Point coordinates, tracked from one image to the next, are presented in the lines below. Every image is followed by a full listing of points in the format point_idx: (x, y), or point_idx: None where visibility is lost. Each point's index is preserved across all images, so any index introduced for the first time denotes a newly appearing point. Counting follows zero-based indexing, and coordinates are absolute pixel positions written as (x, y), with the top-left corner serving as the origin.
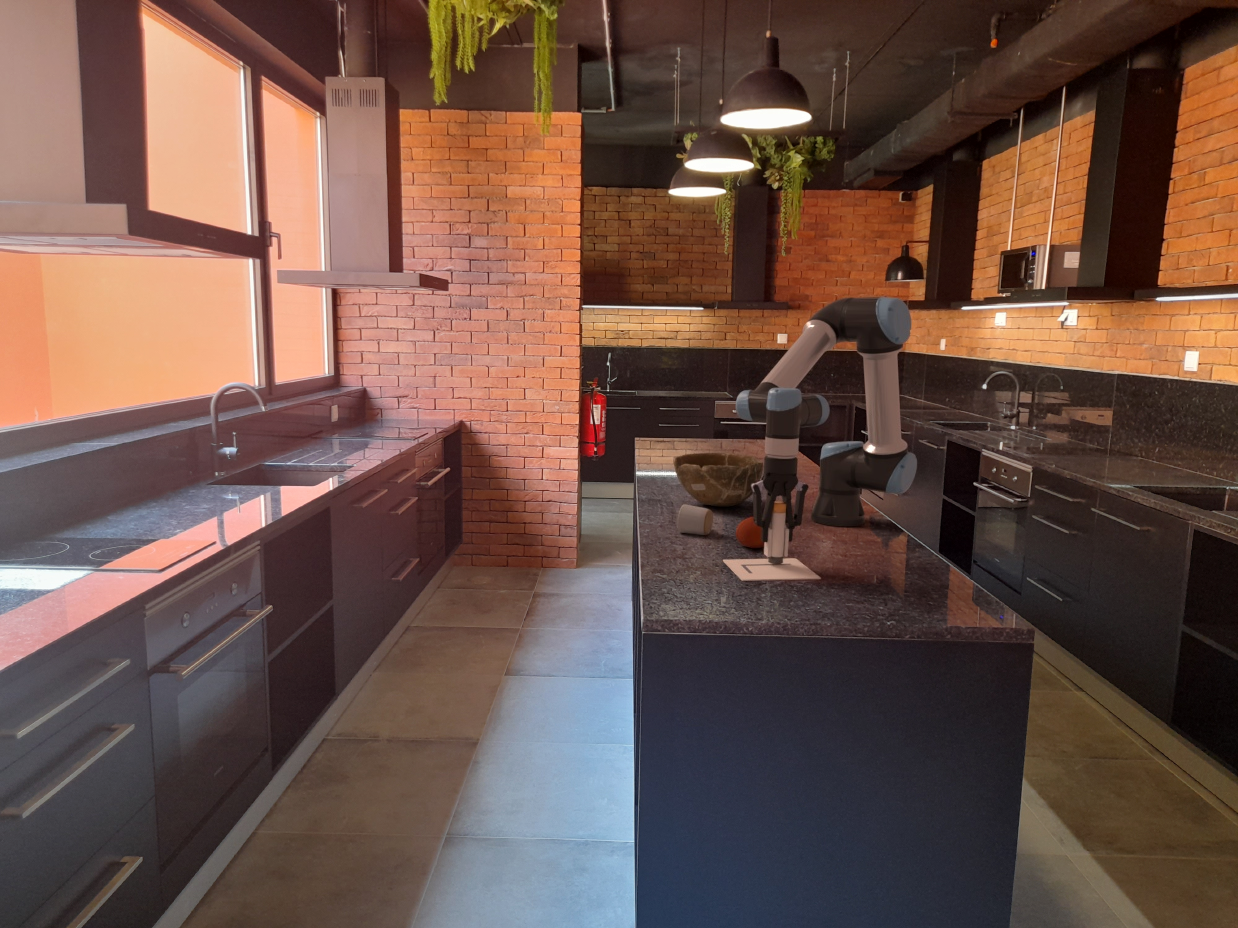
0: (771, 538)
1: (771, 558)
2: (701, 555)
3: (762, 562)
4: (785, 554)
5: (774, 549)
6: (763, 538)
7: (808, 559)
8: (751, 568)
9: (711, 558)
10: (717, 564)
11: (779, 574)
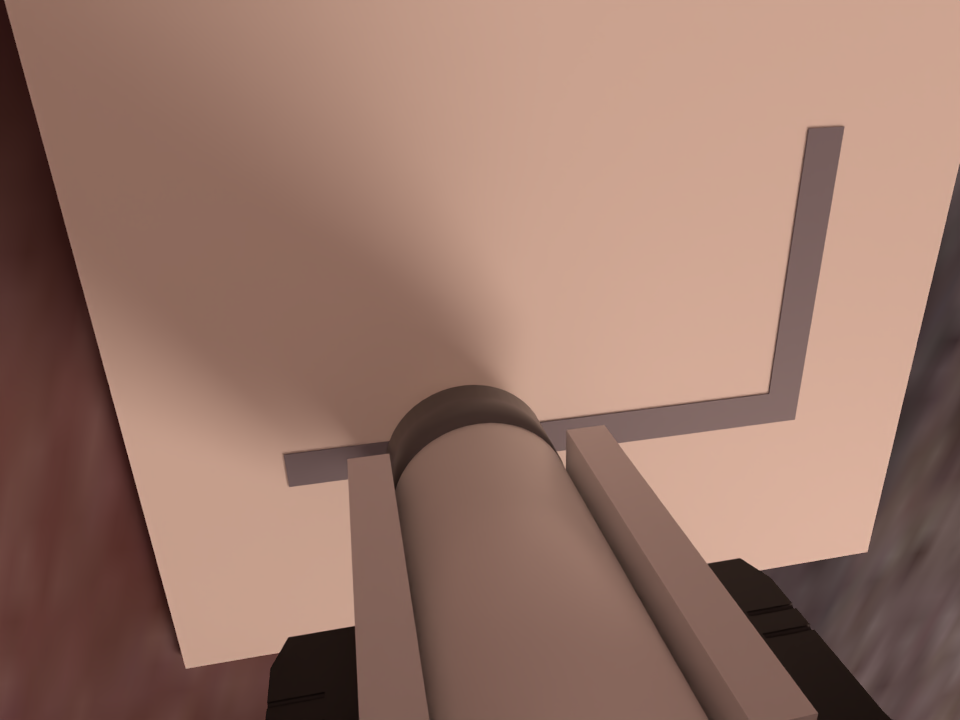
0: (670, 589)
1: (544, 433)
2: (937, 656)
3: None
4: (381, 467)
5: (555, 482)
6: (774, 599)
7: (40, 676)
8: (747, 303)
9: (907, 597)
10: (944, 449)
11: (531, 64)
